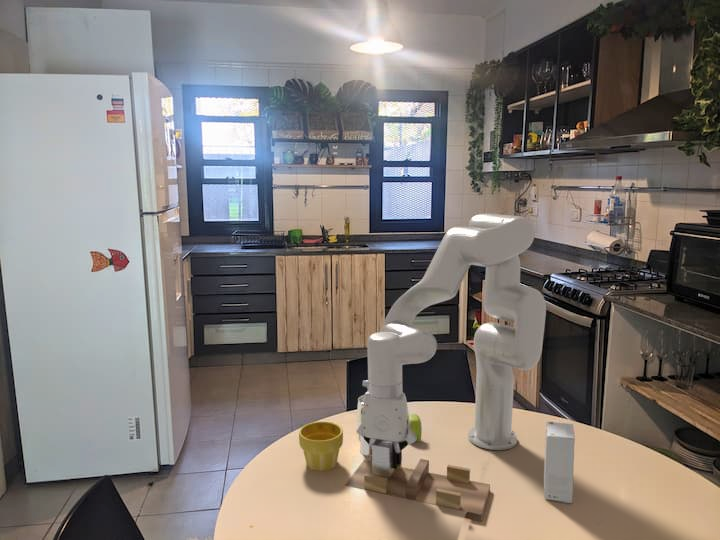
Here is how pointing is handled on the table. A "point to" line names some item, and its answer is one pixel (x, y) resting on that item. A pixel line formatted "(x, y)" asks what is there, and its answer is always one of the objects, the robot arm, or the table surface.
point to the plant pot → (321, 444)
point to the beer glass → (364, 445)
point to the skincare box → (559, 462)
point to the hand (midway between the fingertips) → (386, 463)
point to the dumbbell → (414, 426)
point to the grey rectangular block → (382, 458)
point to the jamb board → (427, 486)
